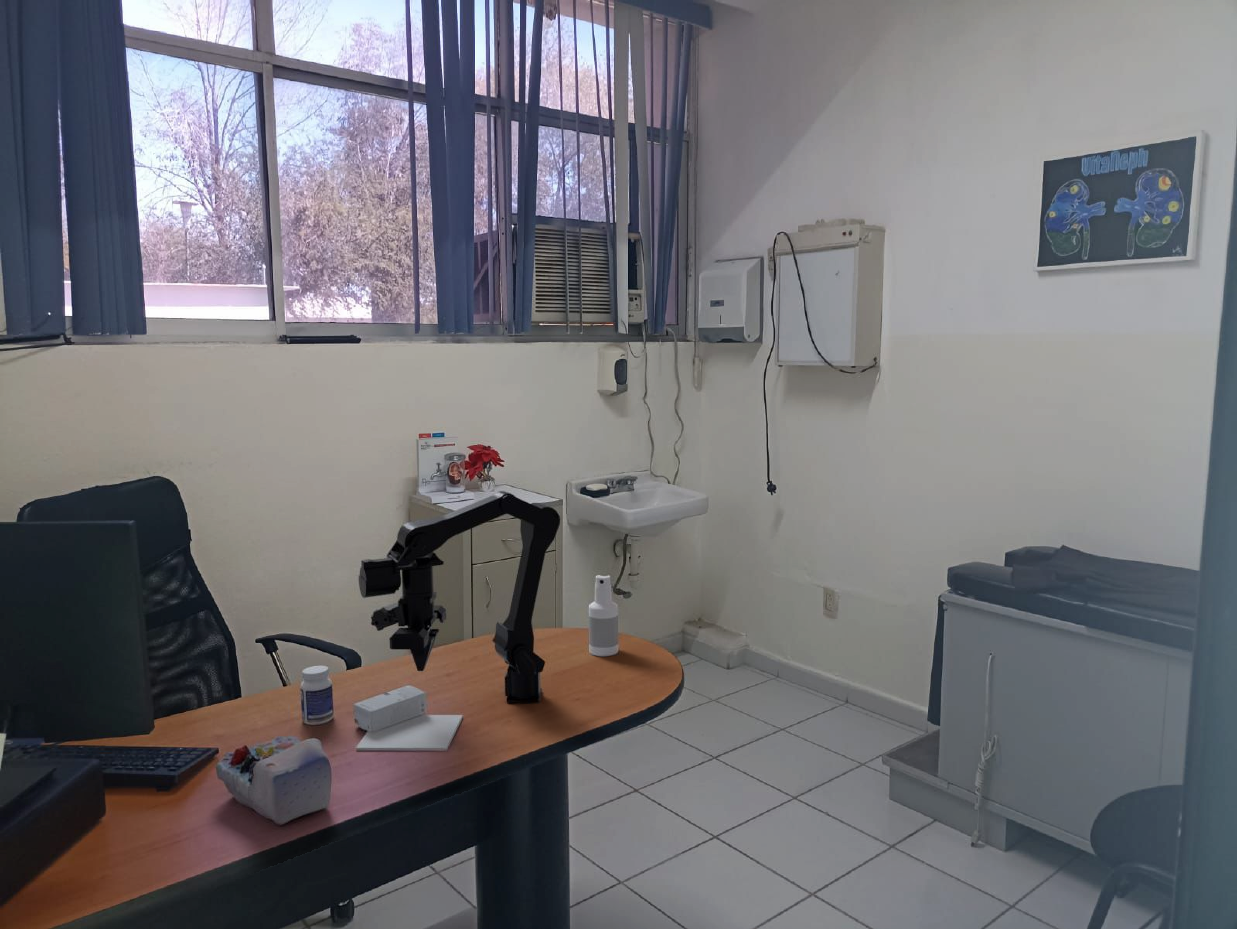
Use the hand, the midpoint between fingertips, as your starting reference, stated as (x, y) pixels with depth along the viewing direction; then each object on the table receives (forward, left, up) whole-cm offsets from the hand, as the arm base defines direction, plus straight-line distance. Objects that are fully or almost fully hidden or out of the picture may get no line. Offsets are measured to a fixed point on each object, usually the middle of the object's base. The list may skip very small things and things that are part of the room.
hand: (420, 670), depth 164 cm
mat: (0, +6, -10) cm, 12 cm away
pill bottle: (+20, 0, -10) cm, 22 cm away
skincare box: (+2, -3, -7) cm, 8 cm away
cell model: (+15, +30, -10) cm, 35 cm away
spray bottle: (-33, -38, -10) cm, 51 cm away
